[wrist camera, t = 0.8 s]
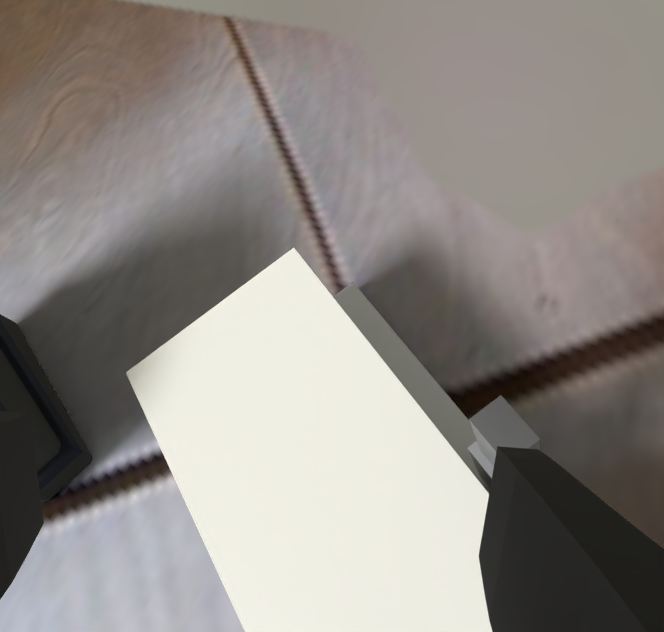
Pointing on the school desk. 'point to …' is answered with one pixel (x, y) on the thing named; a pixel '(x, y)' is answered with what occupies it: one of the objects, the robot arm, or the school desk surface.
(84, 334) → the school desk surface
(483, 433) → the side door
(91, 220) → the school desk surface
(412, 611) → the camera housing
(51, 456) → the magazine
